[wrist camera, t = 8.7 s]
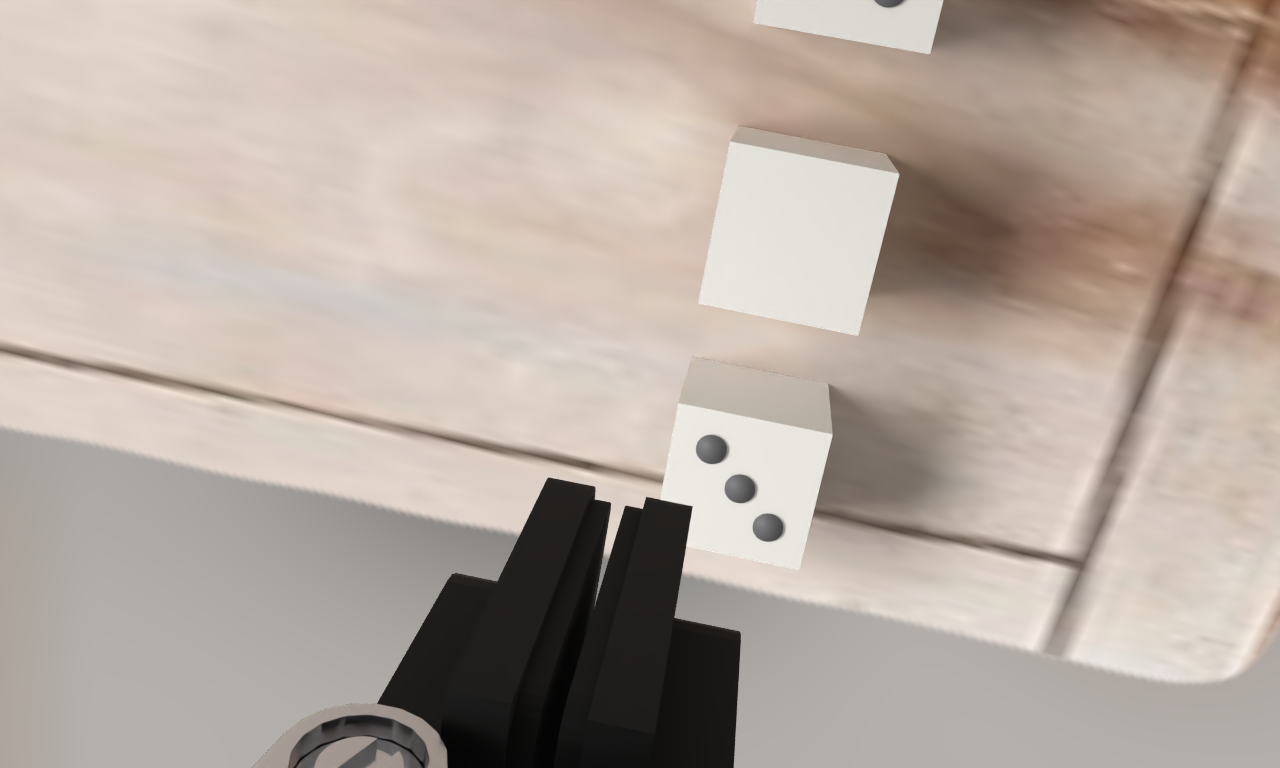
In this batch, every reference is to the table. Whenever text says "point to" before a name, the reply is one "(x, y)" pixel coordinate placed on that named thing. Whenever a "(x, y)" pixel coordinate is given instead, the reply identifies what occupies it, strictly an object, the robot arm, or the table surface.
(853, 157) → the plain block
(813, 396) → the three dot block
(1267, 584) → the table surface
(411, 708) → the robot arm
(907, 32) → the two dot block
